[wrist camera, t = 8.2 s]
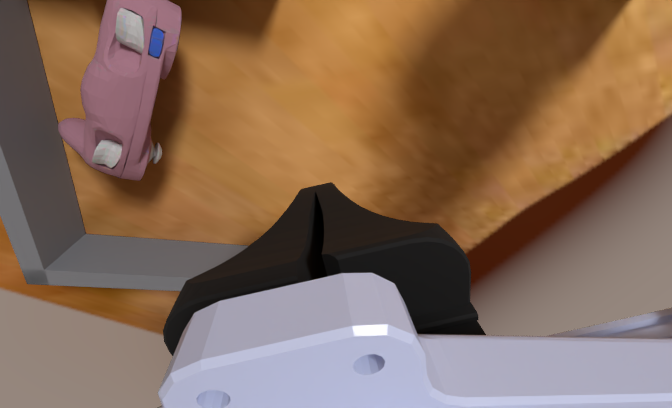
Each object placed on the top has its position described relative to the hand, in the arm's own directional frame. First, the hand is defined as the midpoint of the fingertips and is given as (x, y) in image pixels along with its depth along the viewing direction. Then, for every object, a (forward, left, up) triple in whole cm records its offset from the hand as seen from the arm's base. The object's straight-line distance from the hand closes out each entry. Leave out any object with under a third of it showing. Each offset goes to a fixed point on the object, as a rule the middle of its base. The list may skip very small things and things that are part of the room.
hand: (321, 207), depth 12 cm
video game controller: (+11, -2, -10) cm, 15 cm away
